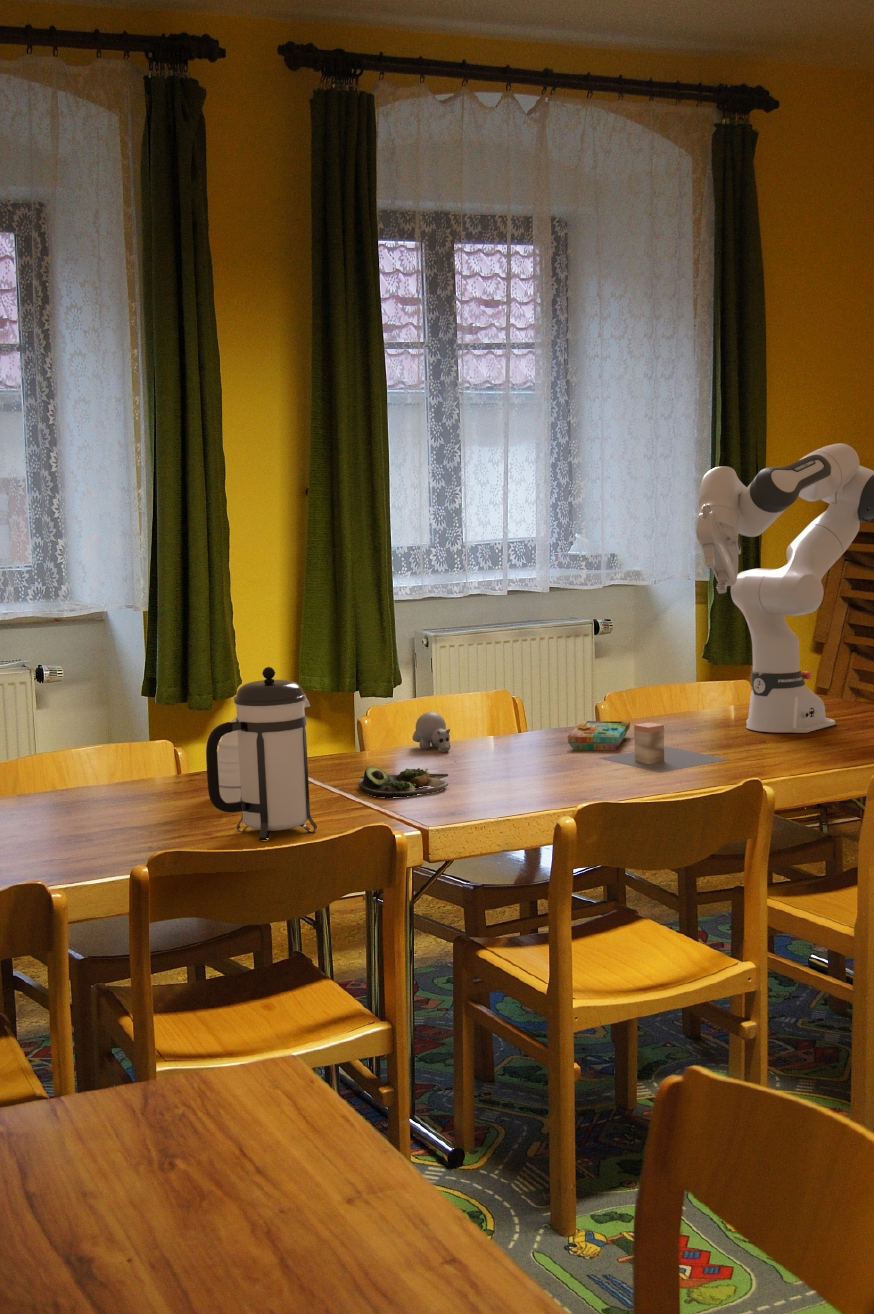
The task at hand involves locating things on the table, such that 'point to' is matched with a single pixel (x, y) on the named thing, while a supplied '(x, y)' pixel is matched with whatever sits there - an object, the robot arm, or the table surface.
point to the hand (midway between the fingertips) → (715, 579)
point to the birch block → (649, 743)
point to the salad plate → (400, 782)
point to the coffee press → (267, 756)
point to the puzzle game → (598, 735)
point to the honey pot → (229, 767)
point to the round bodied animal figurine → (432, 732)
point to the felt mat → (667, 760)
